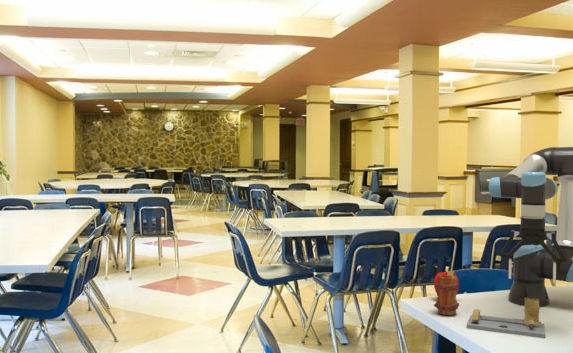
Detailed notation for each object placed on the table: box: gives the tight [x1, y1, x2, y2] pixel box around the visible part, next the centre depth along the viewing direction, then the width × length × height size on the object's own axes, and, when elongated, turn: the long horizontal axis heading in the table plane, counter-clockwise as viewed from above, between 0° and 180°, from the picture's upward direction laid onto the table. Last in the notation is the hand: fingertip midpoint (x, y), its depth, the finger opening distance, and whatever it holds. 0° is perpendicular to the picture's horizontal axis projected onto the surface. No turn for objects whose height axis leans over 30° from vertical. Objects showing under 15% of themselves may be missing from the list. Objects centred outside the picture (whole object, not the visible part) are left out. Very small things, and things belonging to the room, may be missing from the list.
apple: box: [433, 271, 460, 296], centre depth 217 cm, size 10×10×12 cm
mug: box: [433, 270, 460, 316], centre depth 199 cm, size 15×8×15 cm, turn 148°
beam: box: [471, 308, 542, 327], centre depth 179 cm, size 22×7×3 cm, turn 65°
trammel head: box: [523, 297, 540, 329], centre depth 177 cm, size 4×9×8 cm, turn 155°
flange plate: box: [466, 314, 546, 339], centre depth 180 cm, size 24×13×1 cm, turn 65°
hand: (531, 280), depth 178 cm, fingers open, 13 cm apart
